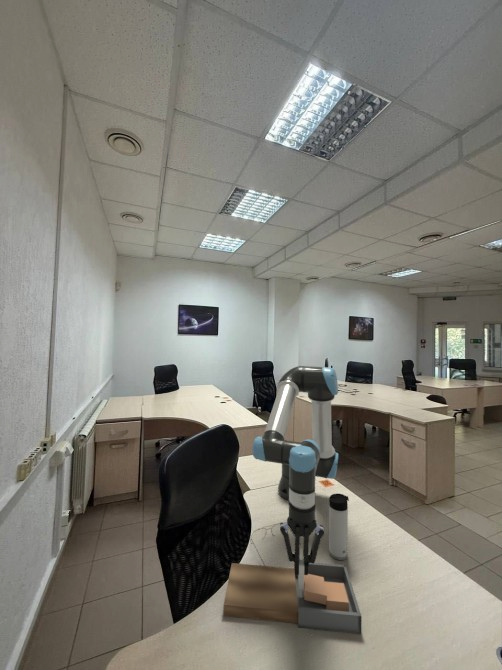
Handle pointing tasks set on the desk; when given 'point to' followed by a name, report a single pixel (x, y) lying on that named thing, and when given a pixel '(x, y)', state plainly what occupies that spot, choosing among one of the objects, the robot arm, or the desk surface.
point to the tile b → (336, 597)
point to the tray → (317, 613)
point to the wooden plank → (261, 593)
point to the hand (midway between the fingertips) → (301, 584)
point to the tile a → (314, 589)
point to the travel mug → (338, 526)
